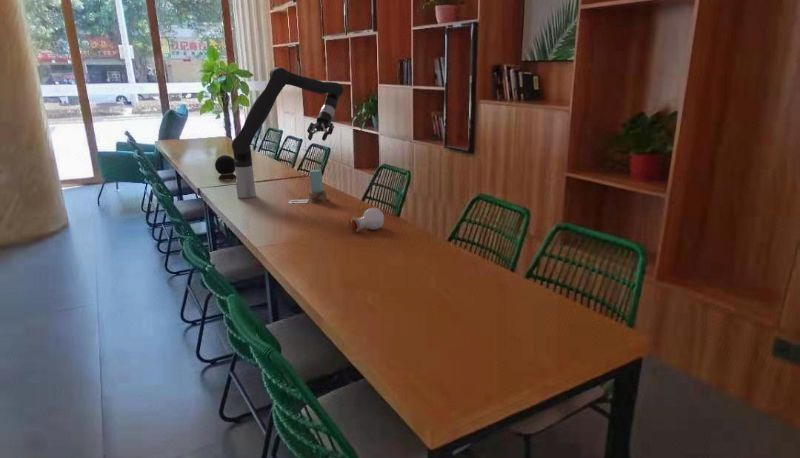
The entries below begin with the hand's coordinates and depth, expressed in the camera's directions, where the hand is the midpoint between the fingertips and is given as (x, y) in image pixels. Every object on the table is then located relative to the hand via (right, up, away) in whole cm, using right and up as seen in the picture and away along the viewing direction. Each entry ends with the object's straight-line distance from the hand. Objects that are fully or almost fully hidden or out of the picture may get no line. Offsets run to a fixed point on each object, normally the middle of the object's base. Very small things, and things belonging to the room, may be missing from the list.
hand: (316, 139), depth 274 cm
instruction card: (-9, -33, -1) cm, 34 cm away
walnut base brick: (+1, -32, +1) cm, 32 cm away
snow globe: (-69, -14, +65) cm, 96 cm away
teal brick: (+1, -27, 0) cm, 27 cm away
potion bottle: (+31, -48, -52) cm, 77 cm away
